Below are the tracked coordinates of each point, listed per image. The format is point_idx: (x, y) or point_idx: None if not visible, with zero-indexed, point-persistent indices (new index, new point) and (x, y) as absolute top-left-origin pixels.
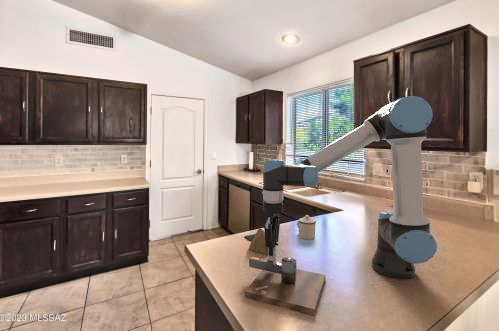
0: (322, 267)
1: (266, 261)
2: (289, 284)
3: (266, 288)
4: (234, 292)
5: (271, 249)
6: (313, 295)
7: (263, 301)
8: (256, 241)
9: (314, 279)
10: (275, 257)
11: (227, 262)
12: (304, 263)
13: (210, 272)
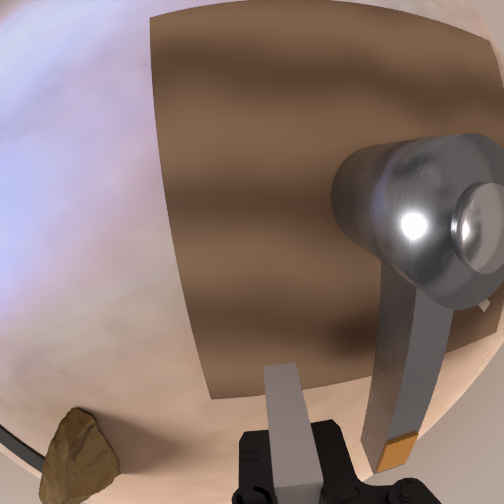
0: (27, 118)
1: (418, 398)
2: None
3: None
4: (463, 364)
5: (352, 472)
6: (426, 36)
7: None
8: (95, 486)
9: (253, 46)
10: (281, 398)
11: None
12: (33, 225)
13: (363, 476)
